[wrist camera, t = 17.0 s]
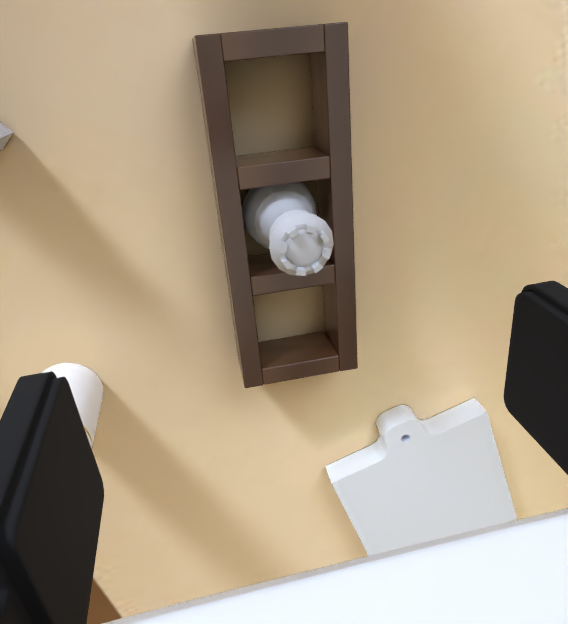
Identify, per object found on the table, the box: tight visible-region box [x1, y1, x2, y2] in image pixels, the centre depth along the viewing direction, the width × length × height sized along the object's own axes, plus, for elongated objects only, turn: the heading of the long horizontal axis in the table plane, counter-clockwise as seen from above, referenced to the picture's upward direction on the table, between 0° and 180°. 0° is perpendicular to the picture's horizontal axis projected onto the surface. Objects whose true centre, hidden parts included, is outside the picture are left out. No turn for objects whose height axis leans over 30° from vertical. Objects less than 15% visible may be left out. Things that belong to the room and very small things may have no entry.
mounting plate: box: [325, 398, 517, 556], centre depth 44 cm, size 18×13×2 cm
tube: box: [42, 363, 104, 449], centre depth 29 cm, size 4×4×15 cm
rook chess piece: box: [242, 182, 334, 276], centre depth 29 cm, size 4×4×8 cm
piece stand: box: [193, 22, 357, 388], centre depth 31 cm, size 7×20×4 cm, turn 5°
